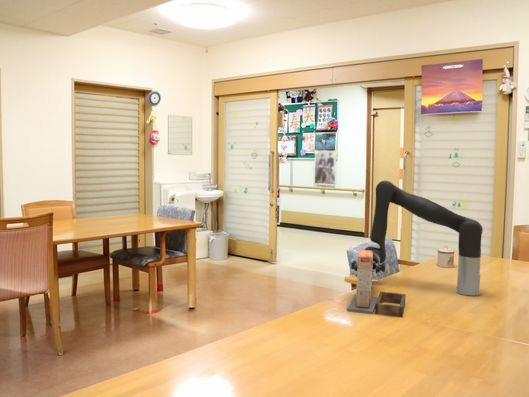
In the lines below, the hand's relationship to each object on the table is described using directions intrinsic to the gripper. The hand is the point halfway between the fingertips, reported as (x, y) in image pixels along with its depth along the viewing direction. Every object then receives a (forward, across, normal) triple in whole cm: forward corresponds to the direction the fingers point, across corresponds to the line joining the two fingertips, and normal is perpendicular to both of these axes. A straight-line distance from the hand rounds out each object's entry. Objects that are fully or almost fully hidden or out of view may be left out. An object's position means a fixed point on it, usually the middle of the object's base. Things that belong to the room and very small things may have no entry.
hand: (366, 269), depth 203 cm
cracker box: (+4, 0, +13) cm, 14 cm away
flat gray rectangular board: (+4, 0, +14) cm, 14 cm away
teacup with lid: (-87, +34, +14) cm, 94 cm away
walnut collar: (+4, +11, +14) cm, 18 cm away
